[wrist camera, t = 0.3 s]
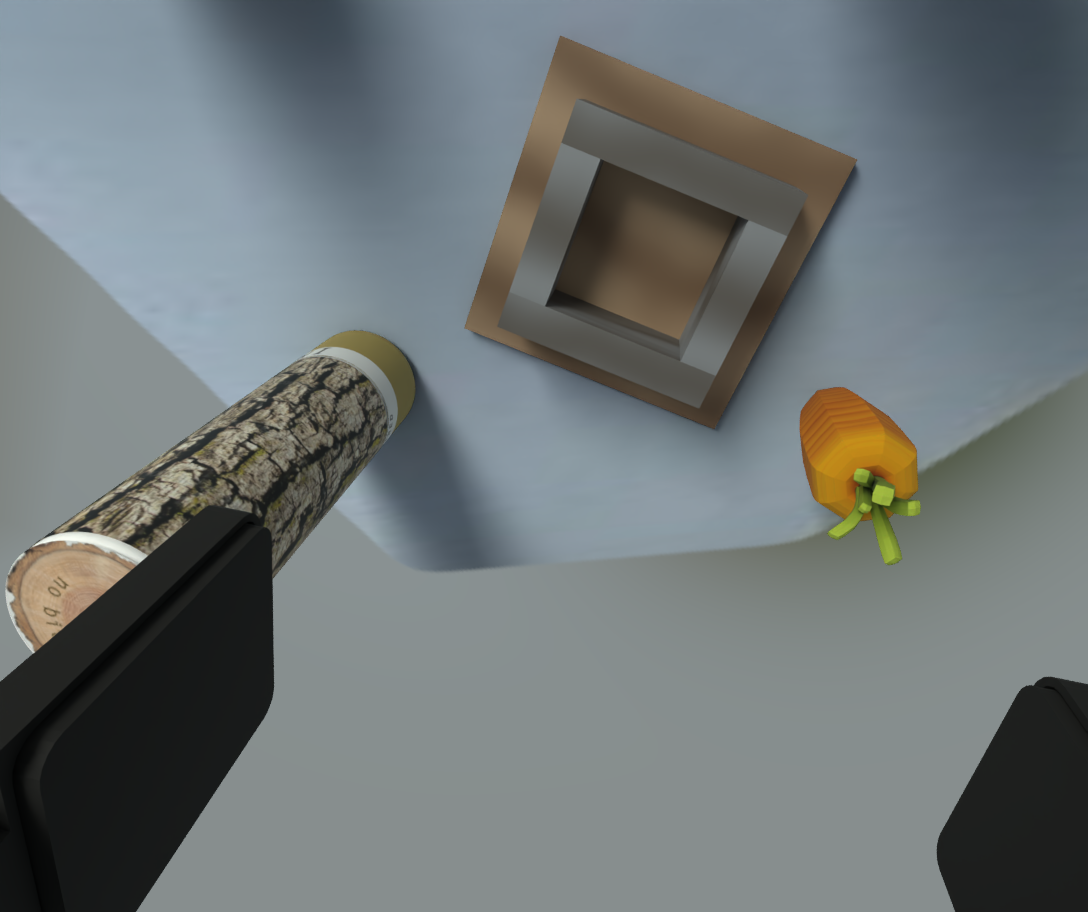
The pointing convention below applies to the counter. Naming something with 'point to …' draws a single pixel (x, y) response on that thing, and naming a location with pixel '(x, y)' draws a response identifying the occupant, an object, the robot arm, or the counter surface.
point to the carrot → (858, 464)
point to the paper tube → (227, 477)
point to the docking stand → (650, 233)
